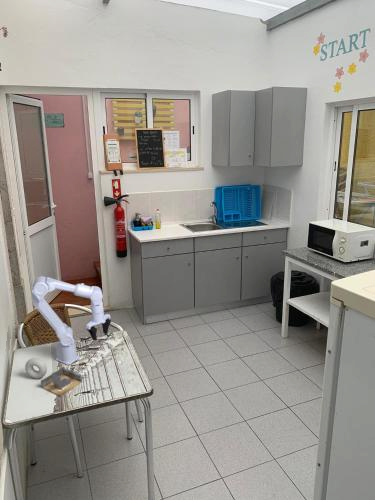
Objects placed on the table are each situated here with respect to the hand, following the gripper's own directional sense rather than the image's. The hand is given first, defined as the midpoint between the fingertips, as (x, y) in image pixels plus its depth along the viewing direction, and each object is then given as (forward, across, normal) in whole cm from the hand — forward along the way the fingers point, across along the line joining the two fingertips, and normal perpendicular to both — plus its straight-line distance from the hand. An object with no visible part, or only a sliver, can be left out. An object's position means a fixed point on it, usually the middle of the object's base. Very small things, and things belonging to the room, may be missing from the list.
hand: (100, 336), depth 191 cm
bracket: (+9, -29, -5) cm, 30 cm away
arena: (+9, -28, -4) cm, 30 cm away
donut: (+10, -30, +10) cm, 33 cm away
